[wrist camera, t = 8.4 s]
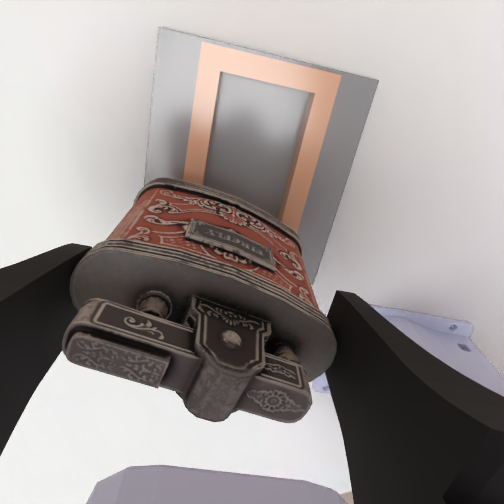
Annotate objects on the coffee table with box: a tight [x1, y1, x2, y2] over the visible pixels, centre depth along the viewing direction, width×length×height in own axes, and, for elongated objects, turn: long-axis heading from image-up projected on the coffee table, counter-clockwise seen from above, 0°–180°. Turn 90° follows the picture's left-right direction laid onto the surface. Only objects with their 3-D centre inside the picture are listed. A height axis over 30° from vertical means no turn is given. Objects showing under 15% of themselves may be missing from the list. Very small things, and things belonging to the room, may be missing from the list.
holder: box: [144, 27, 379, 285], centre depth 20 cm, size 11×12×2 cm
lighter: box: [62, 177, 337, 423], centre depth 13 cm, size 8×3×10 cm, turn 66°
